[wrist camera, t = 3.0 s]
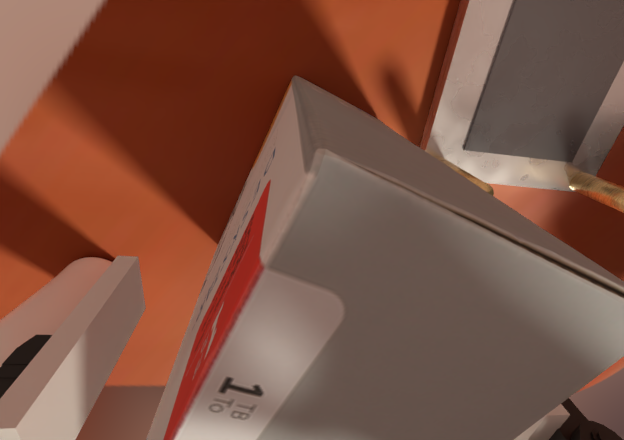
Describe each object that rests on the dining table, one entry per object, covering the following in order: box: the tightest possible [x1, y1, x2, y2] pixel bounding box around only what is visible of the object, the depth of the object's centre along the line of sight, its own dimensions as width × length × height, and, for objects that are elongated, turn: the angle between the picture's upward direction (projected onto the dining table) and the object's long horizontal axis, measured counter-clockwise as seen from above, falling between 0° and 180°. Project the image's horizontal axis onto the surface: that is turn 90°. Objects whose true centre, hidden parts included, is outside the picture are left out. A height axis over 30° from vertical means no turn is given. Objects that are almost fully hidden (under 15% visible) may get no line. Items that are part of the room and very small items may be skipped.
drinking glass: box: [0, 257, 112, 367], centre depth 21 cm, size 7×7×15 cm
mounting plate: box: [419, 0, 624, 213], centre depth 18 cm, size 15×22×7 cm
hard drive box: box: [146, 76, 624, 440], centre depth 16 cm, size 16×8×20 cm, turn 153°
